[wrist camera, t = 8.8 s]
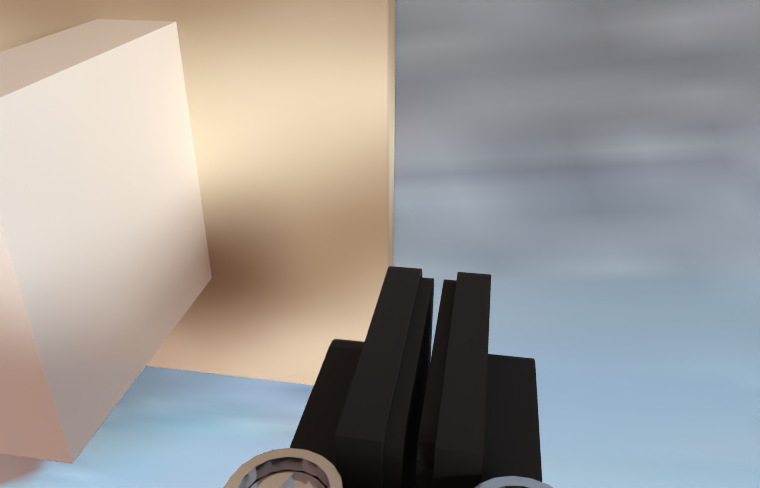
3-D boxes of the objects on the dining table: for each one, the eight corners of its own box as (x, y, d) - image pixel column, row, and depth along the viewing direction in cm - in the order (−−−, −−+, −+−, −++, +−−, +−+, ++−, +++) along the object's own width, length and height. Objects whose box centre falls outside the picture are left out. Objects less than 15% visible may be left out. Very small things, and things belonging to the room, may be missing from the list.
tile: (95, 18, 16) (-157, 105, 10) (176, 21, 16) (-34, 112, 10) (144, 271, 19) (-23, 450, 13) (211, 277, 19) (72, 463, 13)
